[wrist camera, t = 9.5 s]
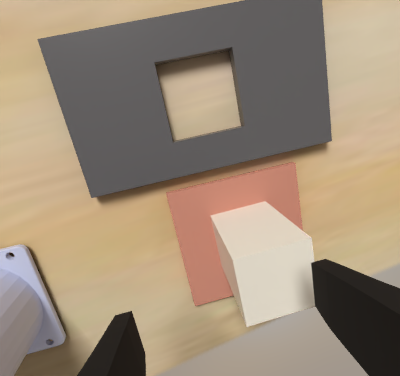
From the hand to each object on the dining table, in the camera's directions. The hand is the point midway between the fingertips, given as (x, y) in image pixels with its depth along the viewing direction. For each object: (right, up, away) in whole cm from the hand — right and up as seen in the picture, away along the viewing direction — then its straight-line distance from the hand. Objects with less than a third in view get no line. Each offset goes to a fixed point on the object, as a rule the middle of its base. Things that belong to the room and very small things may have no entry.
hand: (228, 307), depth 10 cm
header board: (-1, +10, +6) cm, 12 cm away
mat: (+2, +1, +9) cm, 9 cm away
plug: (+2, +1, +9) cm, 9 cm away
